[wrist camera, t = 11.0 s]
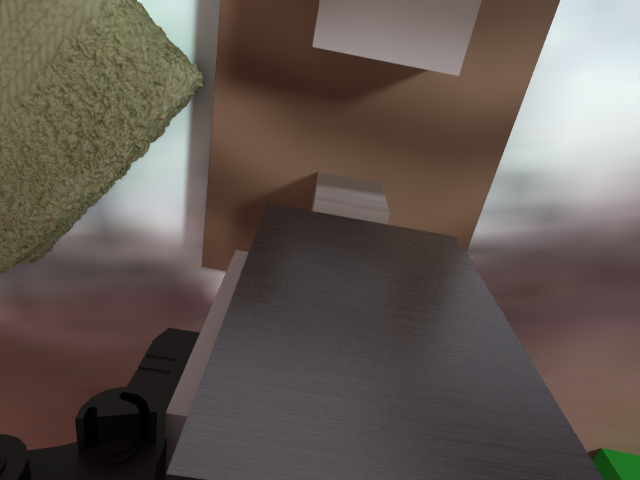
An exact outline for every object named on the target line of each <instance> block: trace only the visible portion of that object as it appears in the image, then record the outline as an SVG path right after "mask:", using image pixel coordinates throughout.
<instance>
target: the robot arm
mask: <svg viewBox="0 0 640 480" xmlns="http://www.w3.org/2000/svg"><path fill="white" fill-rule="evenodd" d="M247 255H248V252H245V251H239V250H236V251H235V253H234V256H233V258H232V260H231V263H230V265H229V267H228V270H227V272H226V274H225V277H224V279H223V281H222V284H221V286H220V288H219V290H218V293H217V295H216V297H215V300H214V302H213V304H212V307H211V309H210V311H209V314H208V316H207V318H206V321H205V323H204V325H203V328H202V330H201V332H200V333H198V332H192V331H185V330H179V329H173V328H168V329H167V330H166V331H164V332H163V333H162V334H160V335H159V336H158V337H156V338H155V339H154V340H153V342H152V344H151V345H150V347H149V349H148V351H147V352H146V354H145V357H144V358H143V359H142V361H141V363H140V365H139V366H138V370H136V372H135V373H134V375H133V377H132V379H131V380H130V382H129V384H128V386H127V387H119V388H114V389H110V390H106V391H104V392H102V393H99V394H97V395H95V396H93V397H92V398H91V399H90V400H88V401H87V402H86V403H85V404H84V405H83V406H82V407H81V409H80V410H79V412H78V414H77V416H76V418H75V422H76V433H77V442H75V443H72V444H68V445H63V446H58V447H51V448H43V449H36V450H29V451H27V447H26V445H25V444H24V443H23V442H22V441H21V440H20V439H19V438H17V437H14V436H10V435H6V434H0V480H166V473H167V470H168V468H169V465H170V462H171V460H172V457H173V454H174V452H175V449H176V446H177V443H178V441H179V438H180V435H181V433H182V430H183V427H184V425H185V422H186V419H187V417H188V414H189V411H190V408H191V406H192V403H193V400H194V398H195V395H196V392H197V390H198V387H199V384H200V382H201V379H202V376H203V373H204V371H205V368H206V365H207V363H208V360H209V357H210V355H211V352H212V349H213V347H214V344H215V341H216V338H217V336H218V333H219V330H220V328H221V325H222V322H223V320H224V317H225V314H226V312H227V309H228V306H229V303H230V301H231V298H232V295H233V293H234V290H235V287H236V285H237V282H238V279H239V277H240V274H241V271H242V268H243V266H244V263H245V260H246V258H247Z"/></svg>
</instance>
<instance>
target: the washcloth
mask: <svg viewBox="0 0 640 480" xmlns="http://www.w3.org/2000/svg"><path fill="white" fill-rule="evenodd" d="M202 83H203V76H202V73H201V72H199V71H198V69H197V65H192V64H191V63H190V61H189V60H188V57H187V56H186V55H184V54H183V52H182V51H181V50H180V49H179V48H178V47H177V46H175V45H174V44H173V43H172V42H171V41H169V39H168V38H167V37H166V33H165V32H163V30H162V28H161V27H160V26H157V25H155V23H154V22H153V20H152V19H151V18H150V17H149V14H148V13H147V11H146V10H145V8H144V7H143V6H142V4H141V3H140V2H137V0H0V274H2V273H4V272H6V271H7V270H8V269H10V268H14V267H15V265H16V264H26V263H30V262H31V263H33V262H36V261H38V260H39V259H40V258H41V257H43V256H44V254H45V253H47V252H48V251H52V247H53V244H56V241H57V240H58V239H59V237H60V236H62V235H64V234H65V233H66V232H68V231H69V230H70V229H71V228H72V226H73V224H74V223H75V222H77V220H80V219H81V216H82V215H83V214H85V213H86V211H87V208H88V207H91V206H93V205H94V204H95V203H97V201H98V200H99V199H100V198H101V197H102V196H103V195H104V194H106V193H107V192H108V190H109V189H110V188H112V186H113V185H114V184H115V181H116V180H118V179H121V178H122V177H123V176H124V175H126V173H127V171H128V170H129V169H130V167H131V163H133V162H135V161H137V159H138V158H141V157H143V156H144V155H145V153H146V152H148V149H149V146H150V145H149V144H150V143H152V142H155V141H156V140H157V139H158V137H160V136H162V135H163V134H164V132H165V127H166V126H167V127H168V126H169V125H170V121H171V120H172V118H173V117H175V116H176V115H177V114H178V113H179V112H181V110H182V109H183V108H184V107H186V106H187V104H188V103H189V101H190V100H191V97H192V96H194V94H195V91H196V90H198V88H199V87H203V85H202Z"/></svg>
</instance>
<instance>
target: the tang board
mask: <svg viewBox="0 0 640 480" xmlns="http://www.w3.org/2000/svg"><path fill="white" fill-rule="evenodd" d="M559 2H560V0H221V4H220V18H219V32H218V46H217V60H216V74H215V88H214V103H213V117H212V131H211V145H210V159H209V173H208V187H207V201H206V215H205V230H204V244H203V258H202V267H208V268H214V269H219V270H225V271H227V270H228V267H229V265H230V263H231V260H232V258H233V256H234V253H235V251H236V250H239V251H245V252H249V250H250V247H251V244H252V242H253V239H254V236H255V233H256V231H257V228H258V225H259V223H260V220H261V217H262V215H263V212H264V209H265V207H266V204H267V203H269V204H275V205H281V206H286V207H292V208H298V209H303V210H309V211H314V212H320V213H326V214H331V215H337V216H343V217H348V218H354V219H360V220H365V221H371V222H376V223H382V224H388V225H393V226H399V227H405V228H410V229H416V230H422V231H427V232H433V233H438V234H444V235H450V236H455V237H457V238H458V240H459V242H460V243H461V245H462V247H463V248H464V250H465V252H466V251H467V248H468V246H469V243H470V240H471V238H472V235H473V232H474V230H475V227H476V224H477V222H478V219H479V216H480V214H481V211H482V208H483V206H484V203H485V200H486V198H487V195H488V192H489V190H490V187H491V184H492V182H493V179H494V176H495V173H496V171H497V168H498V165H499V163H500V160H501V157H502V155H503V152H504V149H505V147H506V144H507V141H508V139H509V136H510V133H511V131H512V128H513V125H514V123H515V120H516V117H517V115H518V112H519V109H520V107H521V104H522V101H523V98H524V96H525V93H526V90H527V88H528V85H529V82H530V80H531V77H532V74H533V72H534V69H535V66H536V64H537V61H538V58H539V56H540V53H541V50H542V48H543V45H544V42H545V40H546V37H547V34H548V32H549V29H550V26H551V23H552V21H553V18H554V15H555V13H556V10H557V7H558V5H559Z"/></svg>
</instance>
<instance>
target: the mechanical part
mask: <svg viewBox="0 0 640 480" xmlns="http://www.w3.org/2000/svg"><path fill="white" fill-rule="evenodd" d="M592 461H593V463H594V465H595V466H596V468H597V470H598V471H599V473H600V475H601V476H602V478H603V480H640V456H638V455H633V454H628V453H623V452H619V451H614V450H609V449H604V448H601V449H600V450H599V452H598V453H597V454H596V456H595V457H594V458H593V459H592Z"/></svg>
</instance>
